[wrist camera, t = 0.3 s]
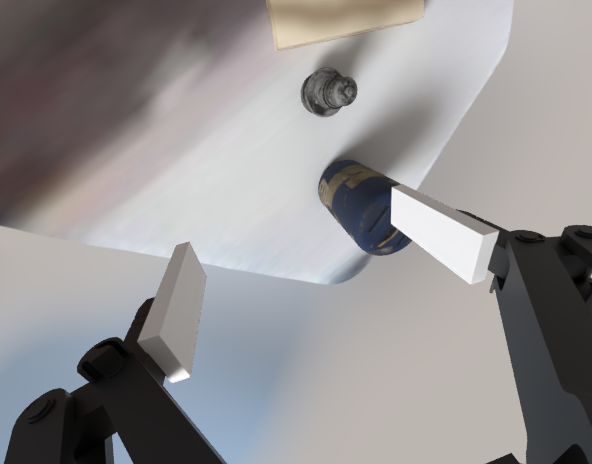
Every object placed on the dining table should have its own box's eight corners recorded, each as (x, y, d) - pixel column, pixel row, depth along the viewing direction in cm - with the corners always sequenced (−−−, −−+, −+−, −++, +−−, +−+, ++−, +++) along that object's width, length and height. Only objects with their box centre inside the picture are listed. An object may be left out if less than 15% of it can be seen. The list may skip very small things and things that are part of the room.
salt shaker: (335, 68, 34) (379, 53, 24) (337, 113, 37) (376, 117, 27) (296, 73, 34) (324, 60, 23) (301, 118, 37) (327, 125, 26)
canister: (374, 181, 45) (448, 224, 29) (338, 218, 47) (390, 275, 31) (343, 146, 40) (411, 173, 25) (304, 188, 42) (346, 238, 27)
